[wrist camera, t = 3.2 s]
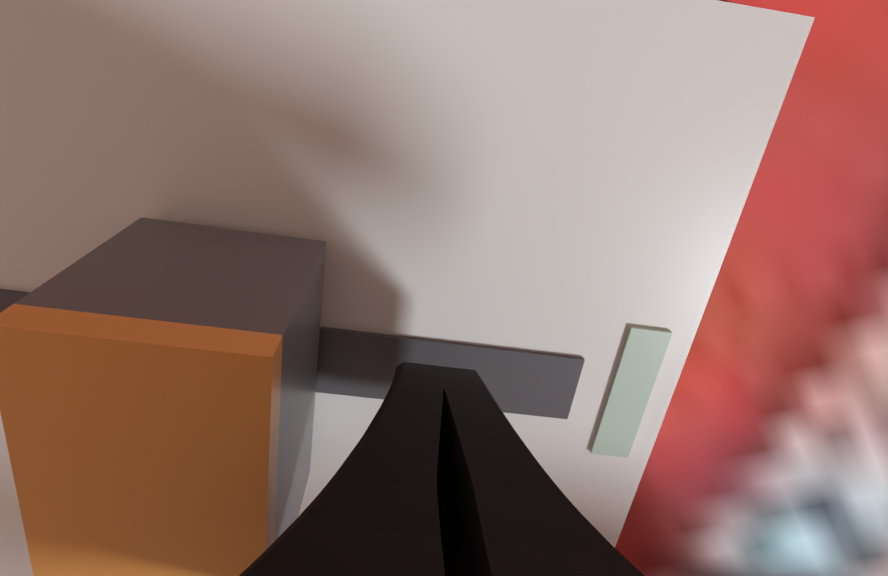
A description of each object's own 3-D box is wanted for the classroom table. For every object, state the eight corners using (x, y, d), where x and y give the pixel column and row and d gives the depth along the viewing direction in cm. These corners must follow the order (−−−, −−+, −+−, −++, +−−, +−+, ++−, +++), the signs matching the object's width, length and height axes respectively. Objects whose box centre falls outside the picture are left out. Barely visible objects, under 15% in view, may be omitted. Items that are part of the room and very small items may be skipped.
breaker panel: (748, 18, 11) (1069, 14, 5) (511, 728, 20) (542, 988, 14) (-273, -160, 9) (-1242, -415, 4) (-21, 696, 18) (-206, 974, 13)
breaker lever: (325, 241, 10) (272, 357, 6) (309, 471, 12) (263, 650, 8) (141, 216, 9) (-18, 324, 6) (157, 456, 11) (45, 636, 8)
